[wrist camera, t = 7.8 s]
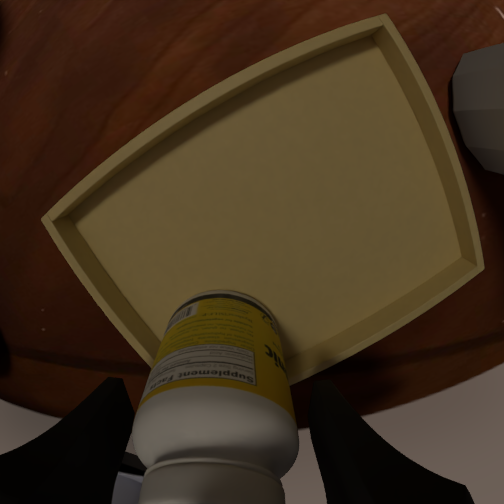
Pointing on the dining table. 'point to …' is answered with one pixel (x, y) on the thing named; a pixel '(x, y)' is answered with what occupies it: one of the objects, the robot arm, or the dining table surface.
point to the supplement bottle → (217, 407)
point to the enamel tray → (284, 202)
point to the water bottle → (481, 104)
